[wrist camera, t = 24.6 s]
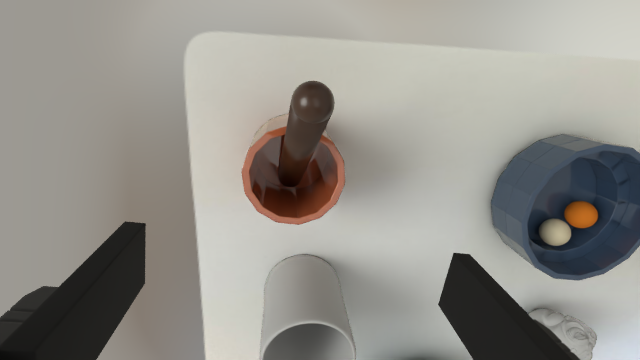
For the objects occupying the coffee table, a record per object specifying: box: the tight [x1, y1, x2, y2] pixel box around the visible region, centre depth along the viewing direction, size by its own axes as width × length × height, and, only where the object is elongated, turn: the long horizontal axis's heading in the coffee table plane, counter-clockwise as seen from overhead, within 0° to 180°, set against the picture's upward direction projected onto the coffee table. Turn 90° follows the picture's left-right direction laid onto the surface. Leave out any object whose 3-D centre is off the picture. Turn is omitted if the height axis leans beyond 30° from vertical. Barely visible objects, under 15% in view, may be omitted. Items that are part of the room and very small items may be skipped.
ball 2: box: [564, 201, 598, 228], centre depth 39 cm, size 3×3×3 cm
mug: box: [259, 255, 356, 360], centre depth 36 cm, size 12×8×11 cm
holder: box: [242, 114, 345, 225], centre depth 32 cm, size 8×8×8 cm
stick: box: [278, 81, 334, 187], centre depth 27 cm, size 2×2×18 cm
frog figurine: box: [528, 309, 597, 360], centre depth 42 cm, size 6×7×7 cm
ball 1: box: [539, 219, 571, 246], centre depth 40 cm, size 3×3×3 cm
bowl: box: [491, 134, 640, 280], centre depth 38 cm, size 14×14×6 cm
